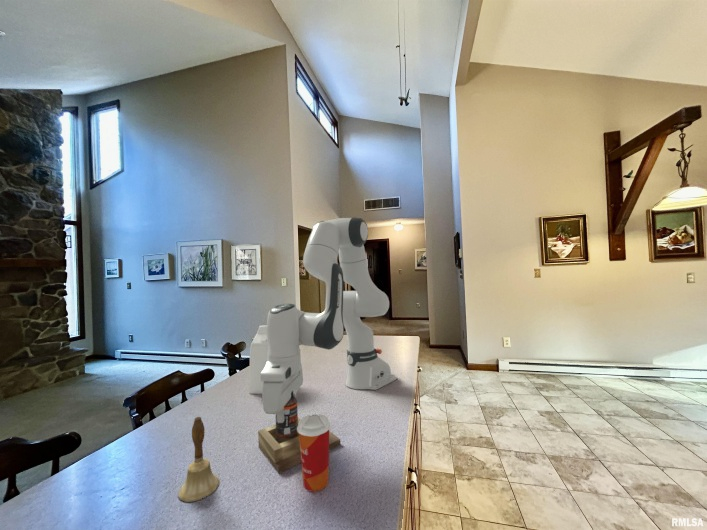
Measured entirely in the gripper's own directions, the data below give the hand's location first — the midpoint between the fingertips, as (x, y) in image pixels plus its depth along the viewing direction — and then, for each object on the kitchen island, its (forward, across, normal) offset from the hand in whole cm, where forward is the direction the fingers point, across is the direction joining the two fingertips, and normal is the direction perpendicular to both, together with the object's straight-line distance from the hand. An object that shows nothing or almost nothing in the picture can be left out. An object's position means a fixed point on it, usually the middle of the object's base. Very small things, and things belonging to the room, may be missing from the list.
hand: (286, 414), depth 82 cm
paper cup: (+9, +12, +11) cm, 19 cm away
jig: (+9, -2, +3) cm, 10 cm away
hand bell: (+10, +16, -15) cm, 24 cm away
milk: (+9, -41, -24) cm, 49 cm away
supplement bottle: (+5, 0, 0) cm, 5 cm away
